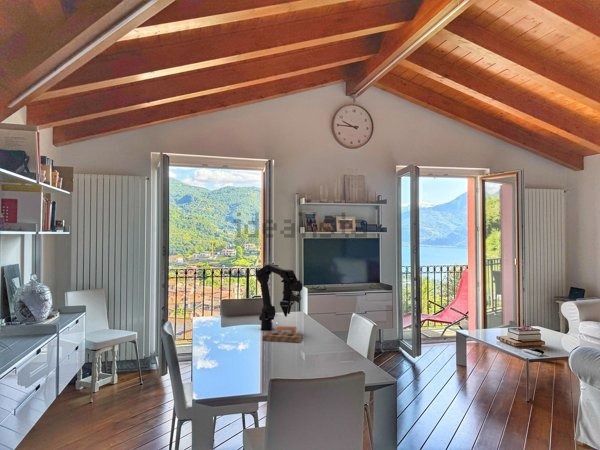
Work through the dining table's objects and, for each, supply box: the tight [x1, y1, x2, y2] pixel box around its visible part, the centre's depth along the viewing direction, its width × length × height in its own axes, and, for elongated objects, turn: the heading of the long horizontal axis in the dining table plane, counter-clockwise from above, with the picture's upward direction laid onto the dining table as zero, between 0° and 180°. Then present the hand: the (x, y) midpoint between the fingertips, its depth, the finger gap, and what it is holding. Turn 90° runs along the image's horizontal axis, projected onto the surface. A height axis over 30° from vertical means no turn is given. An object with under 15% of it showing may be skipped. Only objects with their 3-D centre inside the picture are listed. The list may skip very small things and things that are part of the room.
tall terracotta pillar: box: [276, 325, 297, 333], centre depth 252 cm, size 12×3×5 cm, turn 79°
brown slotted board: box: [262, 331, 304, 344], centre depth 239 cm, size 22×10×3 cm, turn 79°
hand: (287, 315), depth 252 cm, fingers open, 9 cm apart
